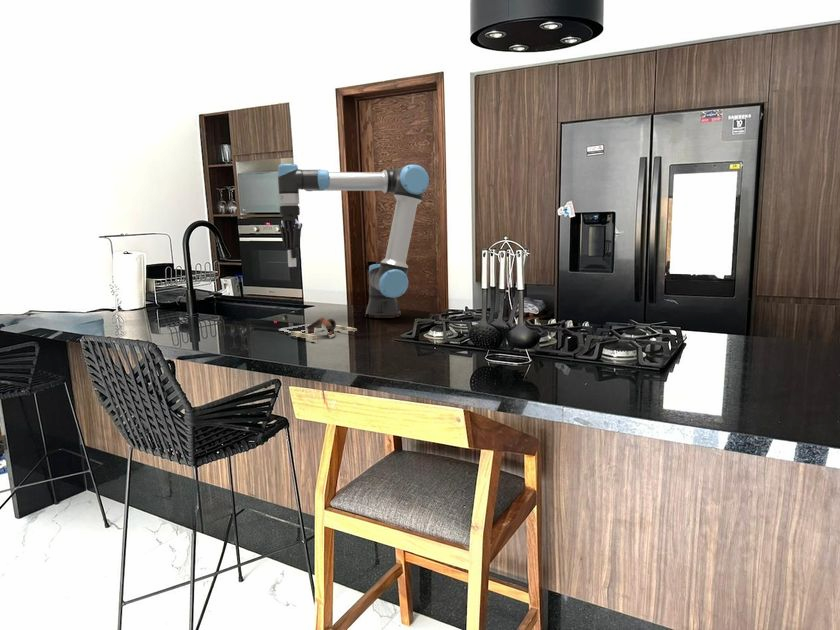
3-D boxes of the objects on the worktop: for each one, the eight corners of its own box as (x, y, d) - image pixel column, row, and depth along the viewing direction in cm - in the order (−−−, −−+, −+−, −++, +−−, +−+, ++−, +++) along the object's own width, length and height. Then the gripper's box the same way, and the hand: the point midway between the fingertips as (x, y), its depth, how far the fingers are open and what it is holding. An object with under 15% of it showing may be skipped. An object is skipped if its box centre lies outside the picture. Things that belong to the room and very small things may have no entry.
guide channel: (291, 337, 224) (290, 331, 224) (333, 330, 238) (332, 324, 238) (314, 343, 215) (314, 336, 214) (357, 335, 229) (356, 328, 228)
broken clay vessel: (327, 342, 219) (315, 322, 218) (311, 350, 225) (299, 331, 224) (346, 328, 229) (334, 309, 228) (330, 336, 235) (318, 318, 234)
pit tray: (278, 332, 234) (278, 328, 234) (308, 327, 244) (308, 324, 244) (293, 336, 228) (293, 332, 227) (324, 331, 238) (324, 327, 237)
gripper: (271, 205, 240) (274, 266, 243) (290, 204, 230) (293, 267, 234) (288, 205, 245) (291, 265, 248) (307, 204, 236) (310, 266, 239)
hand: (292, 266), depth 241 cm, fingers closed
